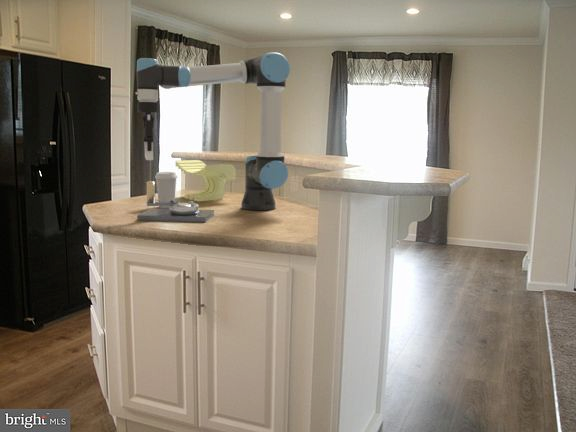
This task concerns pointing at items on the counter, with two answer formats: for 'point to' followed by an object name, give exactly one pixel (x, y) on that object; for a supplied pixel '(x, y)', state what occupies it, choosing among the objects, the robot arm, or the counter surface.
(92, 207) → the counter surface
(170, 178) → the coffee cup
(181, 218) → the plate
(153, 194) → the lever with amber grip
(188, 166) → the slatted curved stool
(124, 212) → the counter surface
